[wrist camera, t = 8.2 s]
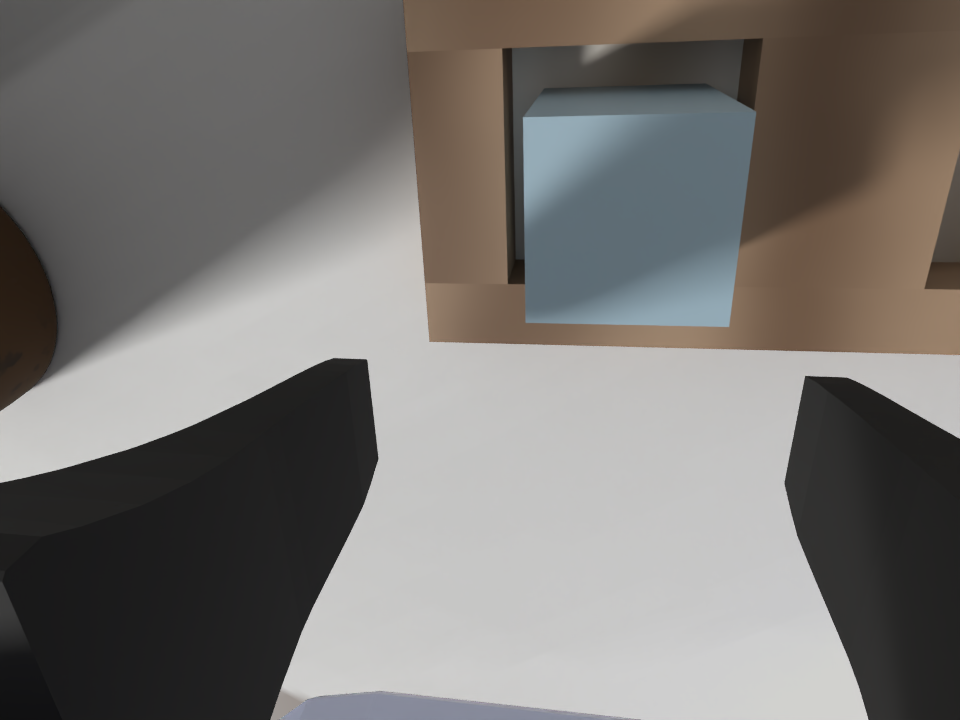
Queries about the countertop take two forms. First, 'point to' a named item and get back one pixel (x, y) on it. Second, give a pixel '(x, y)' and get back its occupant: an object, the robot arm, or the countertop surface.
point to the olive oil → (23, 315)
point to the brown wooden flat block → (772, 172)
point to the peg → (634, 204)
